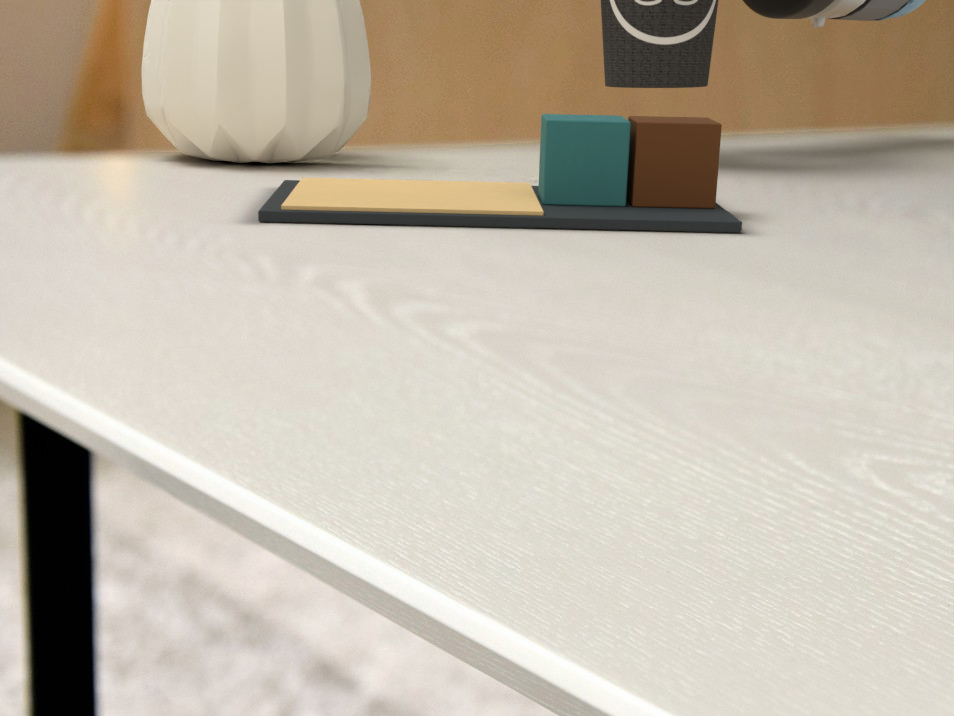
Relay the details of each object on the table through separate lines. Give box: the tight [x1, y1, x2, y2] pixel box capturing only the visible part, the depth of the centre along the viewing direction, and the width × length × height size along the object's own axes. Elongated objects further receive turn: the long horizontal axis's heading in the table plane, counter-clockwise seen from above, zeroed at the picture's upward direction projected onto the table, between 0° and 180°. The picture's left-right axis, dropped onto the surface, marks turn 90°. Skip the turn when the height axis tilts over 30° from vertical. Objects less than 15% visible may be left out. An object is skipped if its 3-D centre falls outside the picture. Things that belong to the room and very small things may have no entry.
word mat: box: [257, 113, 743, 234], centre depth 80 cm, size 22×13×4 cm, turn 89°
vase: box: [140, 0, 372, 164], centre depth 100 cm, size 14×14×13 cm
